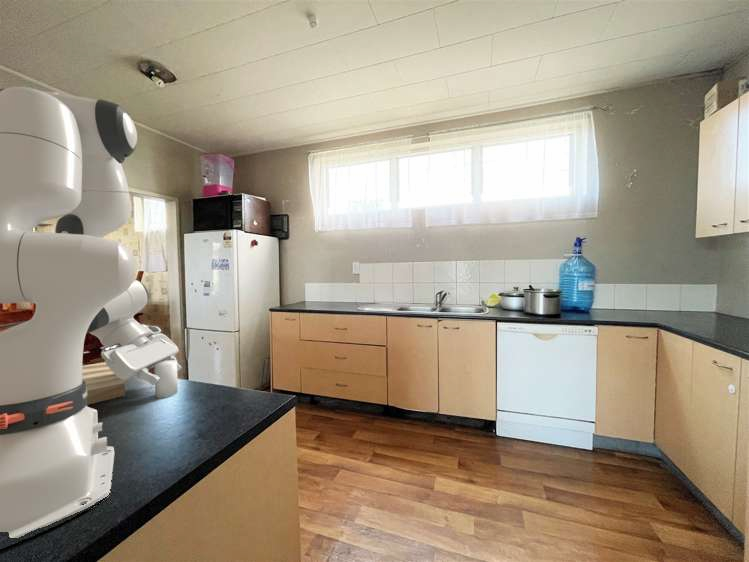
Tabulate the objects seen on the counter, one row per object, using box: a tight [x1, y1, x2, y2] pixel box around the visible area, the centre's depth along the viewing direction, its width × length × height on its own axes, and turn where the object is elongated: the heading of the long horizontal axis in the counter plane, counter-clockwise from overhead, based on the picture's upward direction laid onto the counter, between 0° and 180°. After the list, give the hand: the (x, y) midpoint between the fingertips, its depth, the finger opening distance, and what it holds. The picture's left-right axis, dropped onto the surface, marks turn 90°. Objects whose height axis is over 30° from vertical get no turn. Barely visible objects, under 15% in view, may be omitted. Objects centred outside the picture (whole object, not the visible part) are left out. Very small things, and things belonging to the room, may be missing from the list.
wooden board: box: [82, 361, 128, 406], centre depth 82 cm, size 22×14×5 cm, turn 50°
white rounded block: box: [154, 360, 179, 399], centre depth 81 cm, size 5×5×8 cm
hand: (168, 376), depth 81 cm, fingers open, 8 cm apart
